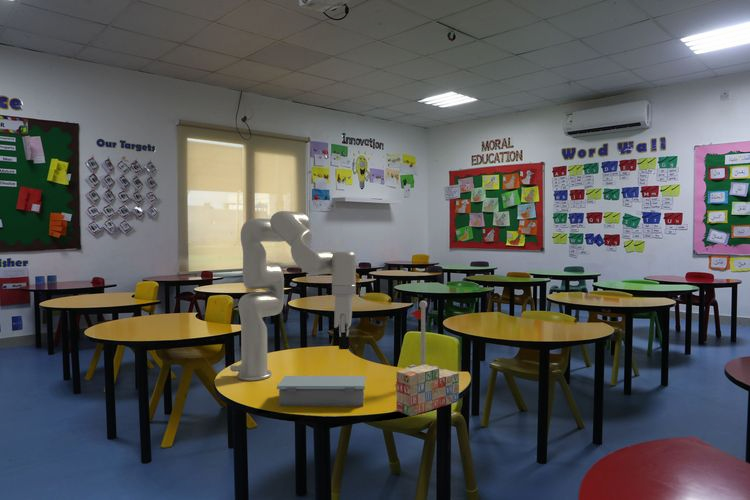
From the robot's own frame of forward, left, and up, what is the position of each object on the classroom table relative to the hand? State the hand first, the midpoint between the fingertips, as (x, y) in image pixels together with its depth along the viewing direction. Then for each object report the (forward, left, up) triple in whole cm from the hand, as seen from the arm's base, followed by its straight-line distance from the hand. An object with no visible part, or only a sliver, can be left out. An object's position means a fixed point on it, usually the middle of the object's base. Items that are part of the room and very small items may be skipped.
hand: (344, 348), depth 150 cm
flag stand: (+27, +21, -18) cm, 39 cm away
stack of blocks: (+26, -2, -18) cm, 32 cm away
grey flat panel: (-7, +2, -13) cm, 15 cm away
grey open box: (-7, +3, -17) cm, 19 cm away
